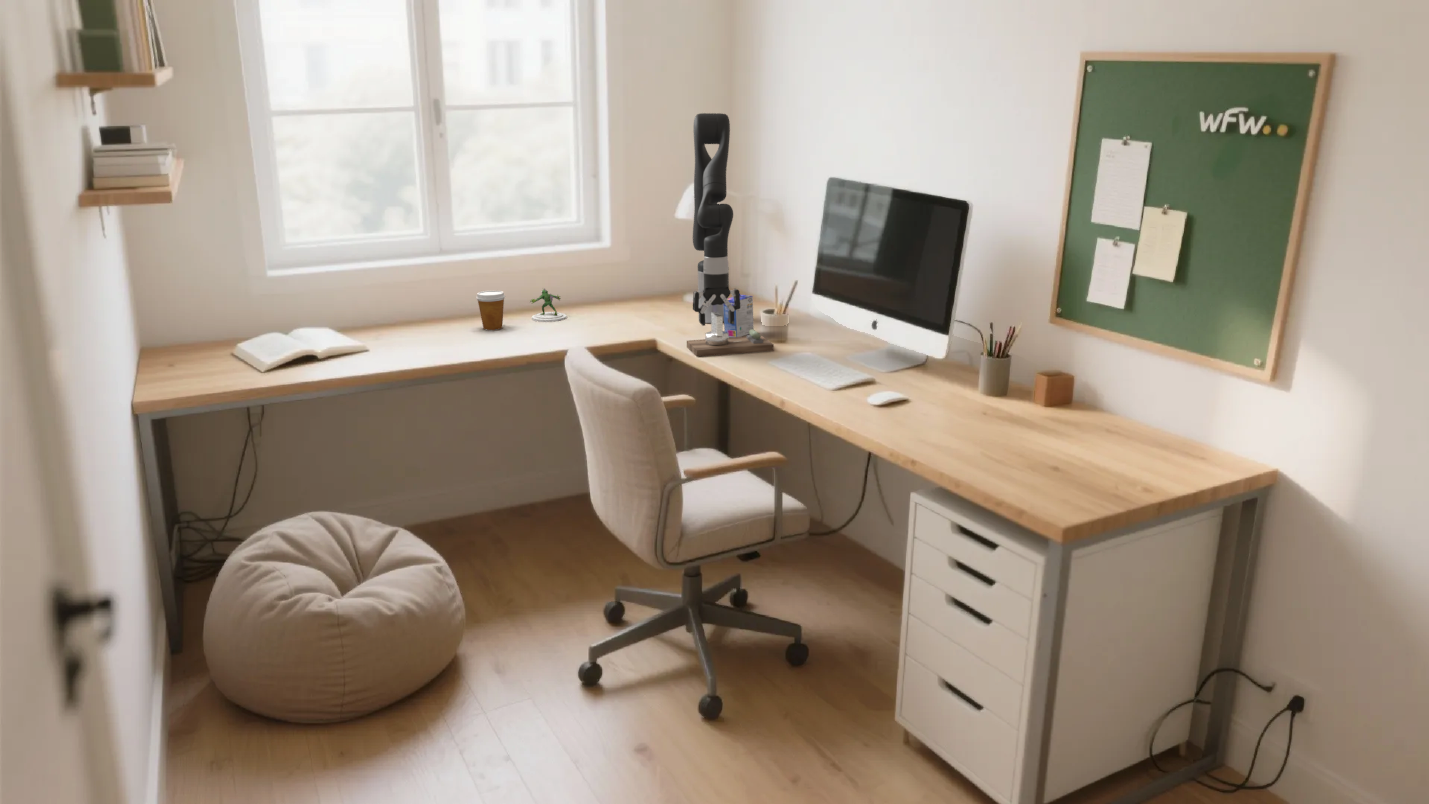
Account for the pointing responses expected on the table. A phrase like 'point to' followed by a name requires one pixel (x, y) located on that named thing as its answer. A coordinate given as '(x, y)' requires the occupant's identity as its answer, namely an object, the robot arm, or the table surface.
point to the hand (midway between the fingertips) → (716, 324)
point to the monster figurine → (548, 315)
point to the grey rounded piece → (716, 331)
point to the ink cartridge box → (740, 317)
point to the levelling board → (732, 345)
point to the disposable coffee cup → (491, 309)
